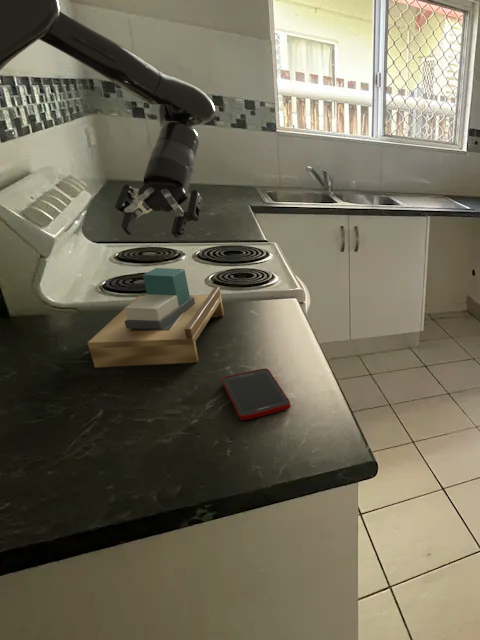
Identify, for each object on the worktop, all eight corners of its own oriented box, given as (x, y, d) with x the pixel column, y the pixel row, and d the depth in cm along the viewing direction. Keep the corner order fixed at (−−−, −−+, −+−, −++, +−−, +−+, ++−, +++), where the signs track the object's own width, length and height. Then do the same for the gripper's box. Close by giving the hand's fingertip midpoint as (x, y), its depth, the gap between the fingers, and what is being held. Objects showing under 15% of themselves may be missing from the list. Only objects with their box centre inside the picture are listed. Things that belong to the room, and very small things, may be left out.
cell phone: (268, 371, 89) (267, 367, 88) (292, 408, 79) (292, 403, 78) (221, 382, 84) (220, 377, 84) (241, 422, 74) (240, 417, 74)
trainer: (161, 329, 90) (152, 289, 87) (126, 328, 89) (115, 287, 86) (195, 303, 102) (188, 267, 99) (164, 302, 102) (157, 266, 98)
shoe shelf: (94, 367, 85) (84, 332, 82) (143, 317, 106) (135, 287, 103) (197, 362, 90) (190, 328, 87) (224, 315, 110) (219, 286, 108)
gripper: (122, 152, 95) (99, 220, 89) (200, 159, 97) (182, 226, 91) (142, 177, 101) (122, 242, 96) (214, 183, 104) (199, 246, 98)
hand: (151, 234), depth 93 cm, fingers open, 8 cm apart
